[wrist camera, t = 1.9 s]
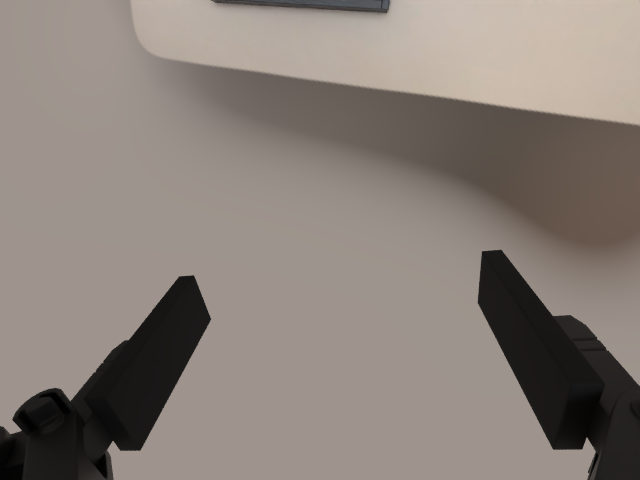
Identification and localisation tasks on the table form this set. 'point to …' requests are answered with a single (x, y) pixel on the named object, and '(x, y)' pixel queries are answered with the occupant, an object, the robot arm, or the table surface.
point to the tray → (320, 4)
